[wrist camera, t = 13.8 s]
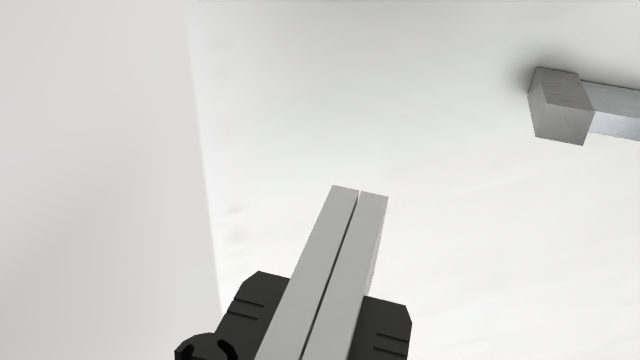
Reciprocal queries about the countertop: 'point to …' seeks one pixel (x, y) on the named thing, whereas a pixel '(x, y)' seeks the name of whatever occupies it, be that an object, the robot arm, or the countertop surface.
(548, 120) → the bar
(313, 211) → the countertop surface
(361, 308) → the robot arm
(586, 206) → the countertop surface
